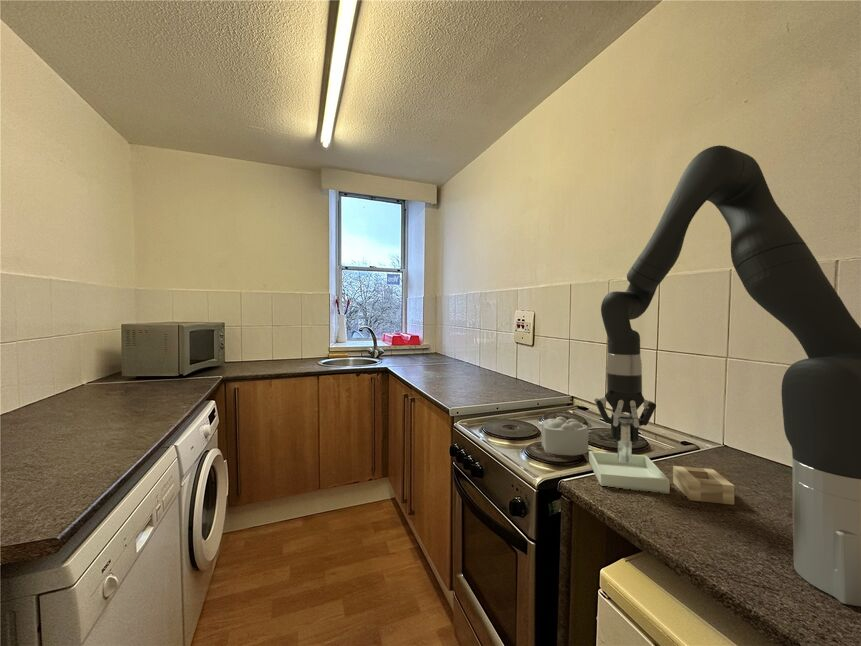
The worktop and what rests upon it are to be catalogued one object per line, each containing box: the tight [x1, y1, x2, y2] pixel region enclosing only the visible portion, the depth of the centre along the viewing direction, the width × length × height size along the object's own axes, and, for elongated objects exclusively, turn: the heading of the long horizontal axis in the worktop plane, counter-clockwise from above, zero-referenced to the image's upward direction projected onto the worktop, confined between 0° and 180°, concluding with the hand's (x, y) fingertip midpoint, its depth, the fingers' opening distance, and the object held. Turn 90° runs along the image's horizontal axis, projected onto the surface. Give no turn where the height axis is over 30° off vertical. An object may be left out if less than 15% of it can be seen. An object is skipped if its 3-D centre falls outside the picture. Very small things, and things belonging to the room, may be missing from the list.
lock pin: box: [617, 413, 634, 463], centre depth 83 cm, size 4×4×11 cm
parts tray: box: [588, 450, 671, 495], centre depth 83 cm, size 14×14×3 cm
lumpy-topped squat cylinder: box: [540, 416, 589, 456], centre depth 101 cm, size 10×13×9 cm
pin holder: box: [672, 465, 735, 505], centre depth 74 cm, size 8×8×4 cm
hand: (624, 440), depth 83 cm, fingers closed on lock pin, 3 cm apart
